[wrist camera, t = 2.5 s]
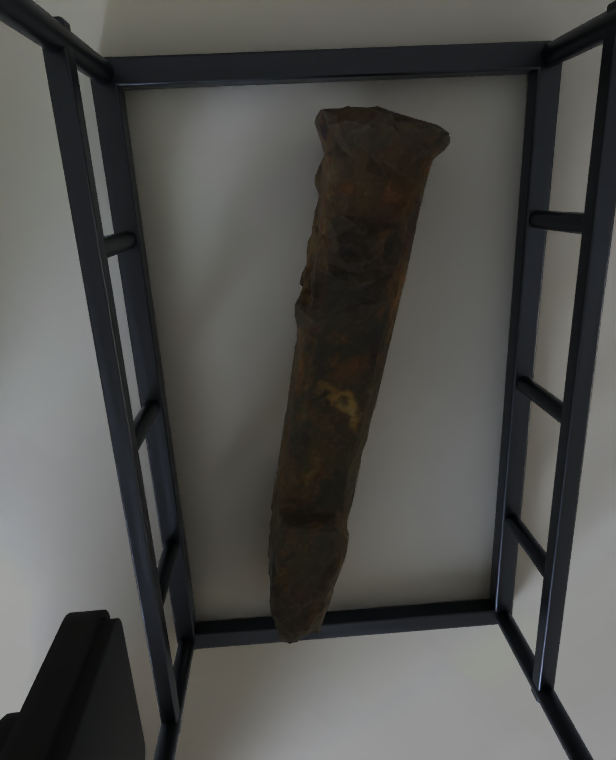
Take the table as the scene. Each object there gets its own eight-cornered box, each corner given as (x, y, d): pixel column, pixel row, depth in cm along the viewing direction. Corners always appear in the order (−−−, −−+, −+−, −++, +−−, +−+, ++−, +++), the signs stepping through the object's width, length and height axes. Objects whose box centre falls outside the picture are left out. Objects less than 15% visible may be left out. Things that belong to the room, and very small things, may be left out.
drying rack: (553, 46, 18) (823, -99, 9) (504, 611, 25) (628, 833, 16) (94, 63, 17) (-92, -74, 8) (181, 637, 25) (129, 883, 16)
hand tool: (316, 107, 18) (328, 80, 14) (431, 136, 19) (478, 118, 14) (222, 578, 24) (209, 665, 19) (312, 591, 24) (319, 678, 20)
